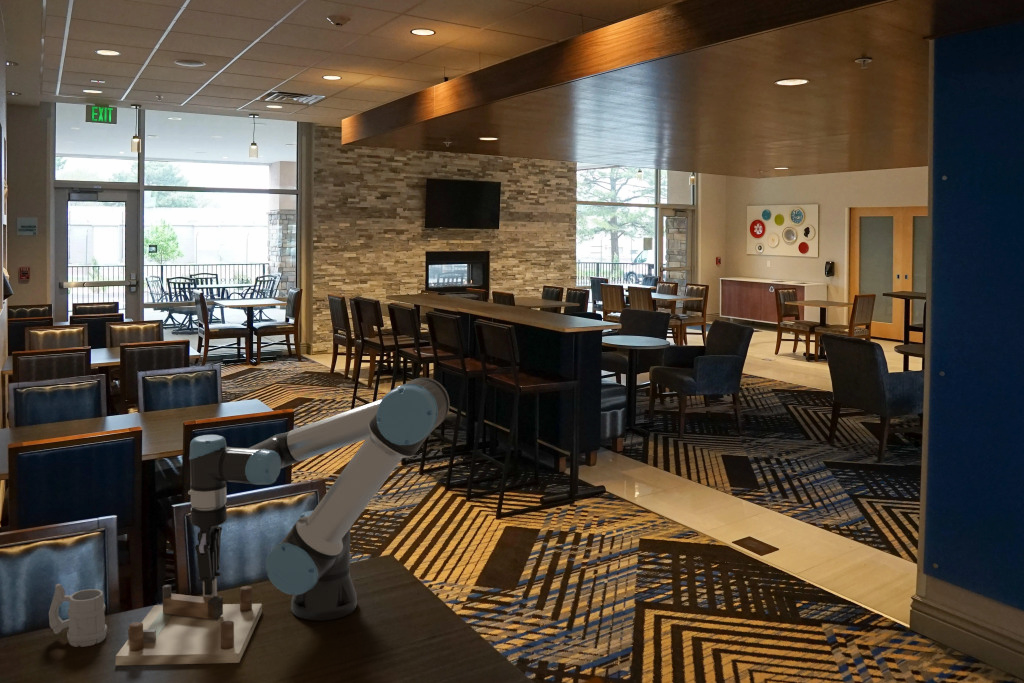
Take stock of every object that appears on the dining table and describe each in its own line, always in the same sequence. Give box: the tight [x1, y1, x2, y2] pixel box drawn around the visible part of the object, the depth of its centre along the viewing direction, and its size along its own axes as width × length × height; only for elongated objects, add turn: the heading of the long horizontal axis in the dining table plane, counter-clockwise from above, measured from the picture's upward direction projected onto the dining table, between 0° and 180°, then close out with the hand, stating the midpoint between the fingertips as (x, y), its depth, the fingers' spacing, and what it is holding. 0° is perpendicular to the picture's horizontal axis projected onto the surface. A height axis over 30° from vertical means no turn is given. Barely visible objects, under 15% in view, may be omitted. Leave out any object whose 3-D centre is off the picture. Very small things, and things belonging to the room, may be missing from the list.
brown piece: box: [162, 584, 224, 620], centre depth 182 cm, size 14×3×6 cm, turn 80°
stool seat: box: [115, 585, 263, 666], centre depth 177 cm, size 24×24×7 cm
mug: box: [48, 583, 108, 648], centre depth 174 cm, size 8×12×12 cm, turn 91°
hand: (210, 606), depth 184 cm, fingers closed
